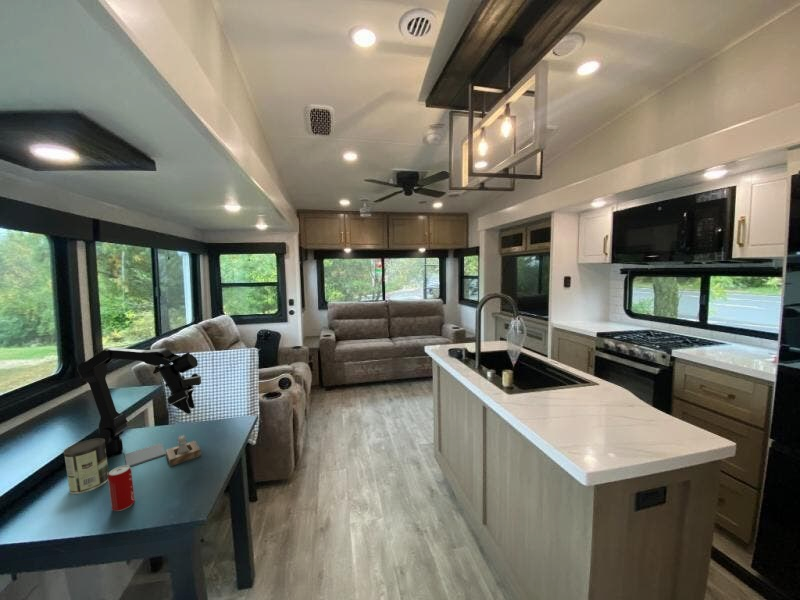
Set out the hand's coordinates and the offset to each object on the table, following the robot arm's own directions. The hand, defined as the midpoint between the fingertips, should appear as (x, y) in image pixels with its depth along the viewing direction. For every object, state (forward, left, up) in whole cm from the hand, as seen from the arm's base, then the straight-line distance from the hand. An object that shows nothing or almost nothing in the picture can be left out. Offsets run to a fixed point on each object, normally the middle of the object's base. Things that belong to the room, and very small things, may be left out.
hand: (191, 410), depth 135 cm
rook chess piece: (-5, -6, -15) cm, 17 cm away
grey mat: (-16, +6, -15) cm, 23 cm away
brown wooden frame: (-5, -6, -15) cm, 17 cm away
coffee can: (-32, -3, -15) cm, 36 cm away
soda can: (-24, -26, -15) cm, 38 cm away
